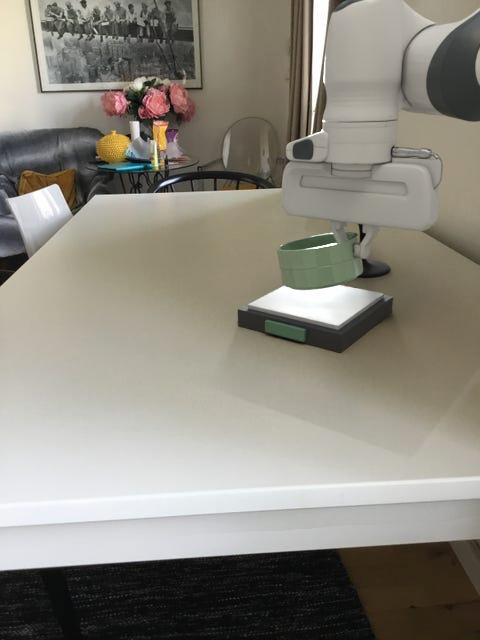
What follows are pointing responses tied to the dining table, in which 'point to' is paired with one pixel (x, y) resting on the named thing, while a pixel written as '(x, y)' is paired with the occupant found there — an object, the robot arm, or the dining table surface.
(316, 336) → the scale
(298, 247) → the bowl
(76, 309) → the dining table surface
